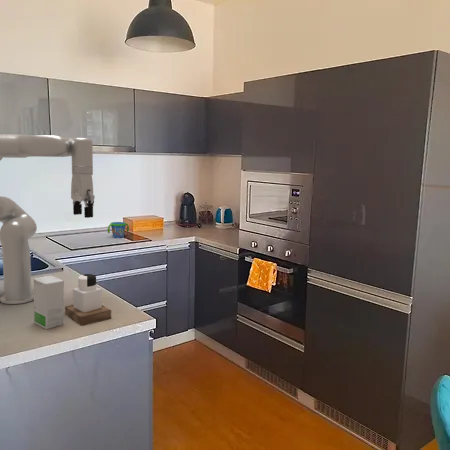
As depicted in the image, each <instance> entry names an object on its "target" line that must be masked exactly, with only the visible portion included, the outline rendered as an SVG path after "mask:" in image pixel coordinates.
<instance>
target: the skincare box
mask: <svg viewBox="0 0 450 450" xmlns="http://www.w3.org/2000/svg"><path fill="white" fill-rule="evenodd" d="M64 286H65V282H64V280H63V279H61V278H59V277H56V276H53V275H49V274H48V275H45V276H41V277H35V278H33V293H34V300H33V323H34V324H35V325H38V326H39V327H41V328H43V329H45V330H49V329H51V328H56V327H59V326H62V325H64V307H65V306H64V304H65V303H64V300H65V299H64V295H65V294H64V291H65V290H64V289H65V287H64Z"/></svg>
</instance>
